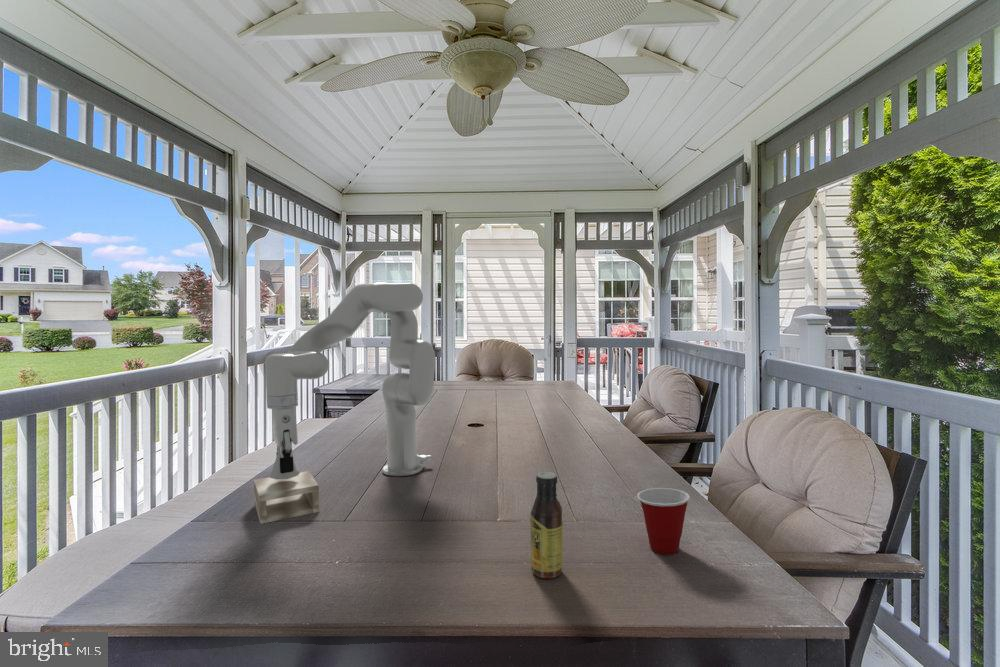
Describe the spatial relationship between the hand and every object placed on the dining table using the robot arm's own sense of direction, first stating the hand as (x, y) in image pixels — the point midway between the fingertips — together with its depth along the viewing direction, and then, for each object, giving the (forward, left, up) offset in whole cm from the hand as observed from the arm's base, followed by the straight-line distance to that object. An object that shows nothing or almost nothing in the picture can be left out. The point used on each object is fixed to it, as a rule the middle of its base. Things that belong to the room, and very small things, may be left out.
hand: (285, 468), depth 137 cm
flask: (0, 0, -2) cm, 2 cm away
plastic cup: (-66, +68, -11) cm, 96 cm away
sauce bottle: (-39, +63, -11) cm, 75 cm away
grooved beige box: (0, 0, -11) cm, 11 cm away
